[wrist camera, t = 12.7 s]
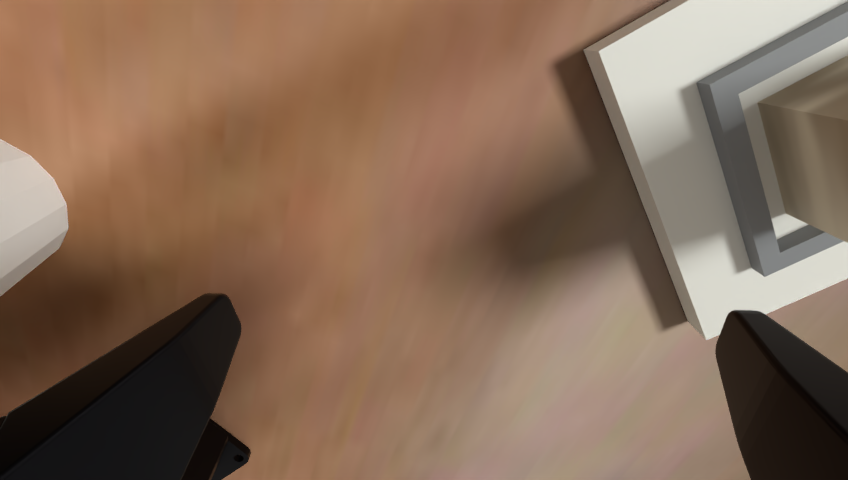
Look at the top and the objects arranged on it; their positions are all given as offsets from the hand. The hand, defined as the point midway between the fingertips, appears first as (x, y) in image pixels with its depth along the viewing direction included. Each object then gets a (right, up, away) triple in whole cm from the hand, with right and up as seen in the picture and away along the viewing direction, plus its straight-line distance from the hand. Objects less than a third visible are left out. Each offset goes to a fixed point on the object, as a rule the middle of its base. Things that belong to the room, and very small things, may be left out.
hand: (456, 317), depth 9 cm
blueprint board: (+15, +6, +10) cm, 19 cm away
